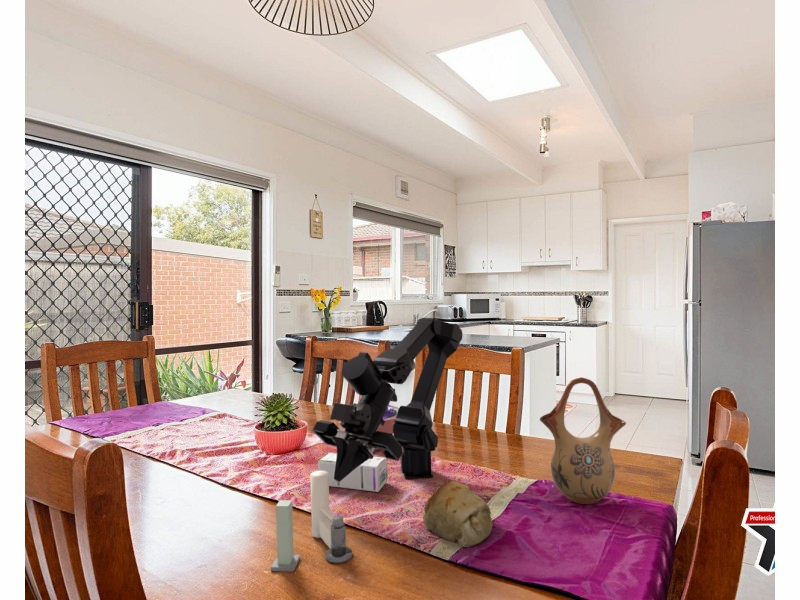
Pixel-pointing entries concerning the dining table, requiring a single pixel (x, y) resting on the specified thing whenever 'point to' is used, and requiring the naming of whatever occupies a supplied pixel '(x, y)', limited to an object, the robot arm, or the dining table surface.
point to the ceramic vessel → (582, 452)
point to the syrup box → (357, 473)
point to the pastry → (458, 514)
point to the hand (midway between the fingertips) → (336, 480)
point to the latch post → (285, 538)
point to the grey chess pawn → (338, 547)
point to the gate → (322, 508)
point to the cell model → (386, 420)
